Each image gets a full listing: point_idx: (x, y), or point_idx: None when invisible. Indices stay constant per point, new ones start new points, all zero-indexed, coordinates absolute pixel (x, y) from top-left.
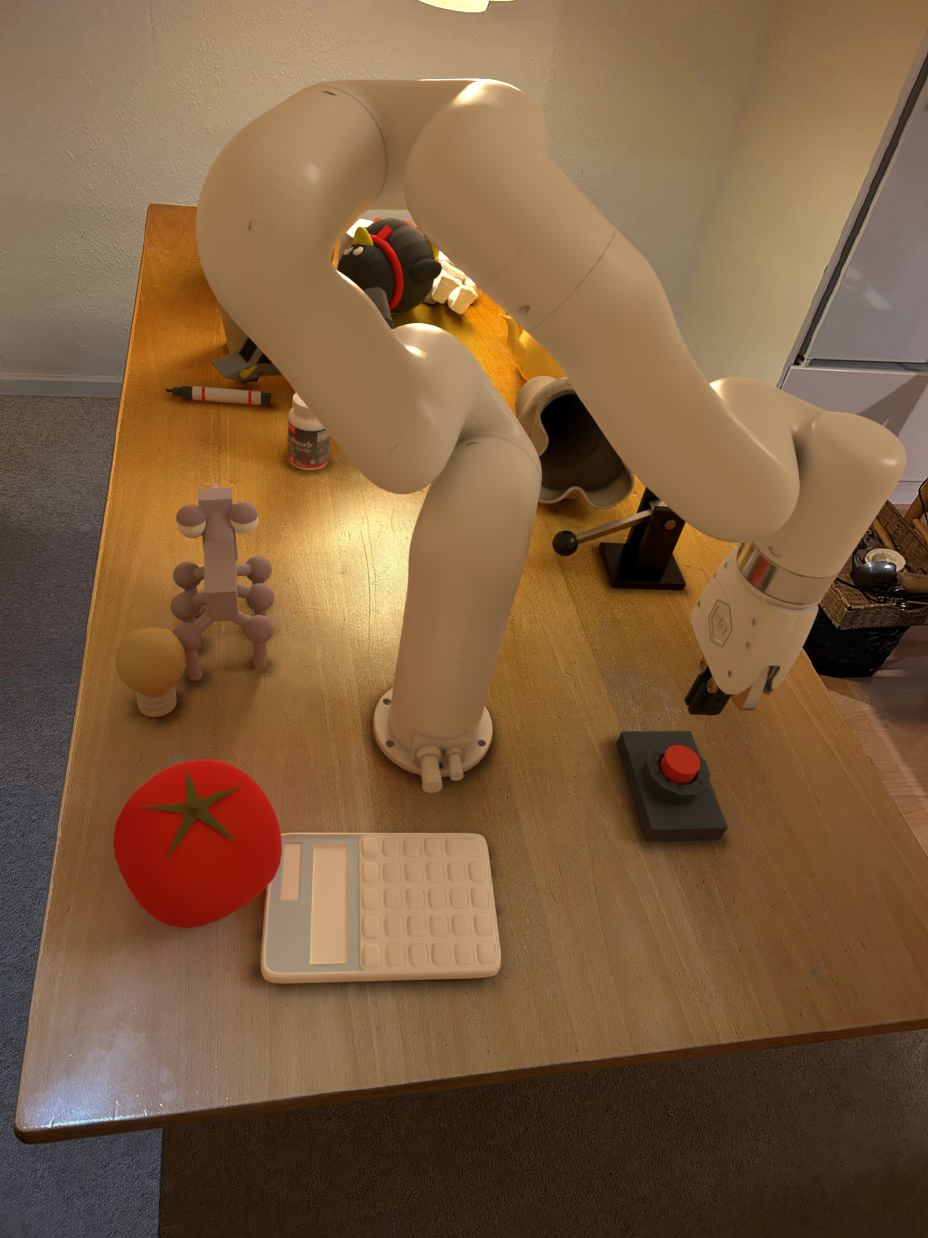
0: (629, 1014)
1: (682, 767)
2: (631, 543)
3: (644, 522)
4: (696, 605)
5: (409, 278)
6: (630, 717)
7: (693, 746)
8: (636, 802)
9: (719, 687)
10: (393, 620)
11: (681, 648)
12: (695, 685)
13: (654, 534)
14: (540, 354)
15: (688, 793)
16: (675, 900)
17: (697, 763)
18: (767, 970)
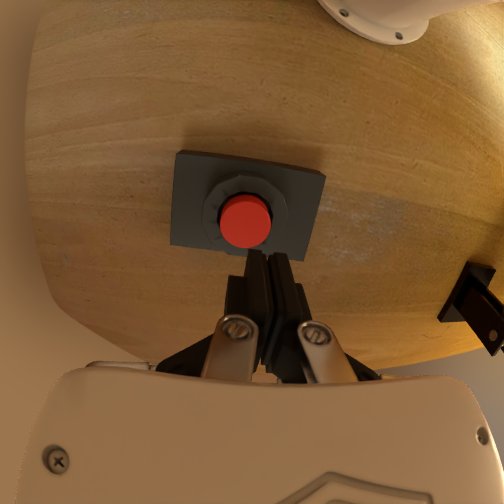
0: (42, 92)
1: (232, 219)
2: (487, 294)
3: (502, 313)
4: (482, 421)
5: None
6: (347, 206)
7: None
8: (229, 156)
9: (93, 370)
10: (482, 43)
11: (397, 295)
12: (284, 289)
13: (492, 317)
14: None
15: (203, 214)
16: (115, 159)
17: (235, 242)
18: (62, 220)
